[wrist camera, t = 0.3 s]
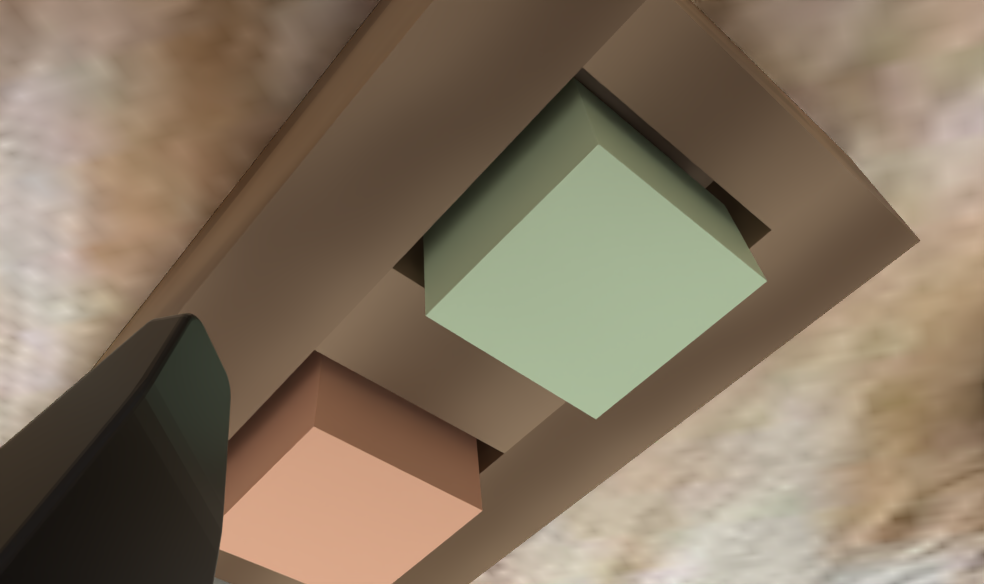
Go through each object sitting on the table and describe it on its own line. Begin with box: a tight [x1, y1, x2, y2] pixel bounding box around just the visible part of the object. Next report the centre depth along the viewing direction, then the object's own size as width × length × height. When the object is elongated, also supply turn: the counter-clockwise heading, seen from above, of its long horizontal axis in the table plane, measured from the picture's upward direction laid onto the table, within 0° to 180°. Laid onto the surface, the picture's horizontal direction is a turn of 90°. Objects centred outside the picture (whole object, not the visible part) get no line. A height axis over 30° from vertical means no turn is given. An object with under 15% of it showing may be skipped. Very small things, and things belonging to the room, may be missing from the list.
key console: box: [93, 0, 920, 584], centre depth 24 cm, size 12×28×4 cm, turn 139°
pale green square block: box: [423, 77, 767, 419], centre depth 19 cm, size 5×5×3 cm
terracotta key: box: [220, 350, 483, 584], centre depth 23 cm, size 5×5×3 cm
